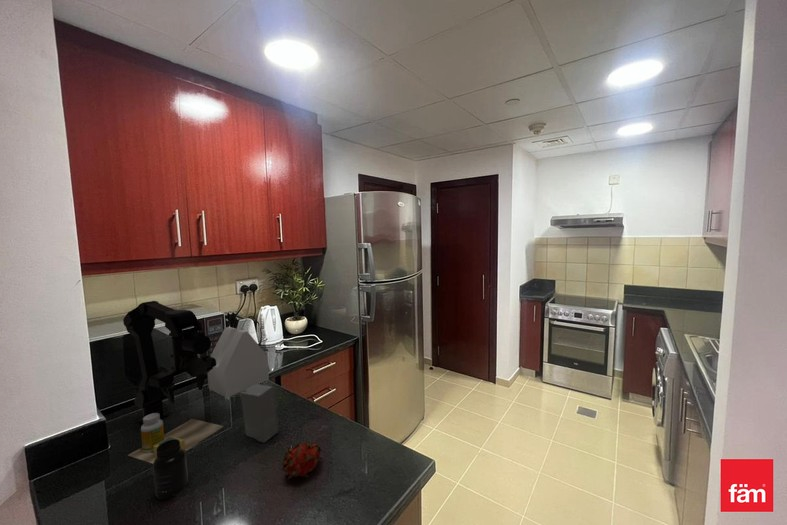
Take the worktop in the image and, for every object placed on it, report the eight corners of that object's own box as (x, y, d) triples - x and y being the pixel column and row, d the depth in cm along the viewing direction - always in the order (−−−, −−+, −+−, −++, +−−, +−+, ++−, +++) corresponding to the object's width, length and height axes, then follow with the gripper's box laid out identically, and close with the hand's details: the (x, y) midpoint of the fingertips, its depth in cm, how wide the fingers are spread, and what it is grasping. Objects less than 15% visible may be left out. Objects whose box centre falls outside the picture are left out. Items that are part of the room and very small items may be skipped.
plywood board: (121, 456, 93) (121, 453, 93) (186, 420, 112) (186, 417, 111) (169, 472, 85) (169, 469, 85) (230, 430, 104) (230, 427, 104)
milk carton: (250, 373, 152) (247, 322, 150) (268, 380, 143) (265, 326, 141) (208, 388, 136) (204, 332, 135) (226, 398, 127) (222, 338, 126)
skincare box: (279, 432, 102) (276, 385, 101) (261, 445, 96) (258, 395, 95) (260, 426, 106) (257, 381, 105) (242, 439, 99) (239, 390, 98)
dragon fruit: (278, 491, 80) (317, 471, 89) (295, 484, 75) (334, 463, 85) (270, 456, 83) (308, 439, 92) (286, 446, 79) (324, 430, 88)
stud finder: (154, 455, 91) (153, 443, 91) (171, 445, 96) (170, 433, 96) (168, 460, 89) (167, 447, 89) (185, 449, 94) (184, 437, 93)
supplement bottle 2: (166, 481, 82) (163, 437, 82) (193, 478, 83) (190, 435, 82) (148, 502, 76) (144, 455, 75) (178, 499, 76) (174, 452, 75)
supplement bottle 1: (152, 453, 92) (150, 422, 91) (137, 451, 93) (135, 420, 93) (169, 442, 97) (166, 412, 97) (154, 440, 98) (152, 410, 98)
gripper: (169, 363, 90) (173, 415, 91) (225, 343, 108) (228, 387, 109) (145, 358, 95) (149, 408, 96) (204, 340, 112) (207, 382, 113)
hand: (186, 396), depth 103 cm, fingers open, 9 cm apart
